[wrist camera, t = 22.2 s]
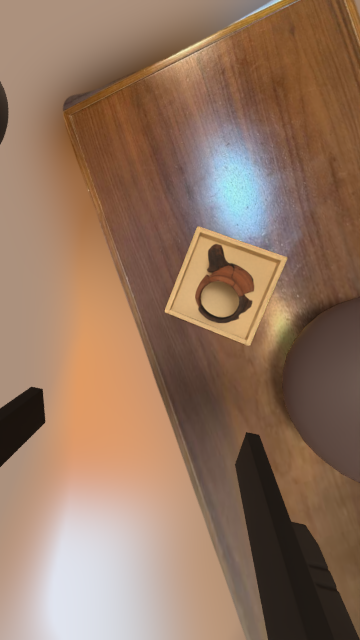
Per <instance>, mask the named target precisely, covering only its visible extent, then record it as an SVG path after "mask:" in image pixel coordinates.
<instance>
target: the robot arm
mask: <svg viewBox="0 0 360 640" xmlns="http://www.w3.org/2000/svg"><path fill="white" fill-rule="evenodd" d="M44 423H45V413H44V401H43V389H40V388H35V387H30V388H29V389H28V390H26V391H25V392H23V393H22V394H20V395H19V396H18V397H16V398H15V399H13V400H12V401H10V402H9V403H7V404H6V405H5V406H3V407H2V408H0V467H1V466H2V465H3V464H4V463H5V462H6V461H7V460H8V459H9V458H10V457H11V456H12V455H13V454H14V453H15V452H16V451H17V450H18V449H19V448H20V447H21V446H22V445H23V444H24V443H25V442H26V441H27V440H28V439H29V438H30V437H31V436H32V435H33V434H34V433H35V432H36V431H37V430H38V429H39V428H40V427H41V426H42V425H43V424H44ZM235 466H236V472H237V477H238V482H239V487H240V493H241V498H242V503H243V509H244V514H245V519H246V525H247V530H248V535H249V540H250V546H251V551H252V556H253V562H254V567H255V572H256V578H257V583H258V588H259V593H260V599H261V604H262V609H263V615H264V620H265V625H266V631H267V636H268V640H360V639H359V637H358V635H357V633H356V630H355V628H354V626H353V623H352V621H351V619H350V617H349V614H348V612H347V610H346V607H345V605H344V603H343V601H342V598H341V596H340V594H339V592H338V591H337V589H336V584H335V582H334V580H333V578H332V575H331V573H330V571H329V570H328V566H327V564H326V562H325V559H324V557H323V555H322V552H321V550H320V548H319V545H318V544H317V542H316V541H315V539H314V538H313V536H312V535H311V533H310V532H309V530H308V529H307V527H306V526H305V525H303V524H299V523H295V522H291V520H290V518H289V515H288V512H287V509H286V507H285V504H284V501H283V499H282V496H281V493H280V490H279V488H278V485H277V482H276V480H275V477H274V474H273V471H272V469H271V466H270V463H269V461H268V458H267V455H266V452H265V450H264V447H263V444H262V442H261V439H260V436H259V435H257V434H252V433H247V432H246V435H245V438H244V441H243V443H242V446H241V449H240V452H239V455H238V458H237V461H236V464H235Z"/></svg>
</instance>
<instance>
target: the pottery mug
mask: <svg viewBox="0 0 360 640" xmlns="http://www.w3.org/2000/svg"><path fill="white" fill-rule="evenodd" d="M208 260H209V268H208V269H207V271H208V272H210V273H212V274H211V275H210V276H209V275H205V277H204V278H203V279H202V281H201V282H200V284H199V286H198V288H197V290H196V294H195V299H196V302H197V305H198V306H199V308H198V310H199V312H200V313H201V314H202V315H203V316H204V317H205V318H206V319H208V320H210V321H213V322H216V323H228V322H231V321H234V320H237V319H239V315H240V314H242V313H244V312H246V311H247V309H249V308H250V307H251V305H252V300H249V299H248V298H247V297H246V296H245V295H244V294H246V293H249V292H253V291H254V282H253V278H252V276H251V275H250V274H249V273H248V272H247V271H246V270H244V269H243V268H241V267H240V266H238V265H236V264H233V263H228V262H227V261H226V259H225V256H224V251H223V248H222V245H219V244H214V245H212V246H211V248H210V249H209V250H208ZM211 282H224V283H226V284H228V285H230V286H231V287H232V288H233V289H234V290H235V291H236V293H237V295H238V297H239V305H238V308H237V310H236V311H235V312H234V313H233V314H232V315H230V316H227V317H217V316H214V315H212V314H210V313H209V312H208V311H207V310H206V309H205V308H204V307H203V305H202V303H201V299H200V298H201V293H202V291H203V289H204V288H205V286H207V285H208V284H210V283H211Z"/></svg>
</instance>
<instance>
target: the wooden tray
mask: <svg viewBox="0 0 360 640" xmlns="http://www.w3.org/2000/svg"><path fill="white" fill-rule="evenodd" d="M214 244H219V245H222V248H223V251H224V256H225V259H226V261H227V262H228V263H233V264H236V265H238V266H240V267H241V268H243V269H244V270H246V271H247V272H248V273H249V274H250V275H251V276H252V278H253V282H254V291H253V292H249V293H246V294H244V295H245V296H246V297H247V298H248V299H249V300H252V305H251V307H250V308H249V309H247V311H246V312H244V313H242V314H240V315H239V319H237V320H234V321H231V322H228V323H216V322H213V321H210V320H208V319H206V318H205V317H204V316H203V315H202V314H201V313H200V312H199V310H198V308H199V306H198V305H197V302H196V299H195V294H196V290H197V288H198V286H199V284H200V282H201V281H202V279H203V278H204V277H205V275H209V276H210V275H211V274H212V273H210V272H208V271H207V269H208V268H209V260H208V250H209V249H210V248H211V246H212V245H214ZM286 260H287V257H284V256H281V255H278V254H276V253H273V252H270V251H267V250H264V249H261V248H258V247H256V246H253V245H250V244H247V243H244V242H241V241H239V240H236V239H233V238H230V237H227V236H224V235H221V234H219V233H216V232H213V231H210V230H207V229H204V228H201V227H197V229H196V232H195V234H194V237H193V239H192V242H191V244H190V247H189V250H188V252H187V255H186V257H185V260H184V262H183V265H182V268H181V270H180V273H179V275H178V278H177V280H176V283H175V285H174V288H173V291H172V293H171V296H170V298H169V301H168V303H167V306H166V309H165V311H164V312H166V313H169V314H171V315H173V316H176V317H178V318H180V319H183V320H185V321H188V322H190V323H193V324H195V325H198V326H200V327H203V328H205V329H208V330H210V331H213V332H215V333H218V334H220V335H223V336H225V337H228V338H230V339H233V340H235V341H238V342H240V343H243V344H245V345H248V346H250V345H251V342H252V340H253V337H254V335H255V333H256V330H257V328H258V326H259V323H260V321H261V319H262V316H263V314H264V312H265V309H266V307H267V305H268V302H269V300H270V298H271V295H272V293H273V291H274V288H275V286H276V284H277V281H278V279H279V277H280V274H281V272H282V270H283V267H284V265H285V263H286ZM200 299H201V303H202V305H203V307H204V308H205V309H206V310H207V311H208V312H209V313H210V314H212V315H214V316H217V317H227V316H230V315H232V314H233V313H234V312H235V311H236V310H237V308H238V305H239V297H238V295H237V293H236V291H235V290H234V289H233V288H232V287H231V286H230V285H228V284H226V283H224V282H211V283H210V284H208V285H207V286H205V288H204V289H203V291H202V293H201V298H200Z"/></svg>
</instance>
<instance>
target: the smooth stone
mask: <svg viewBox="0 0 360 640" xmlns="http://www.w3.org/2000/svg"><path fill="white" fill-rule="evenodd" d="M282 389H283V396H284V402H285V405H286V408H287V411H288V413H289V416H290V419H291V420H292V422H293V424H294V426H295V427H296V429H297V430H298V432H299V434H300V435H301V437H302V438H303V440H304V441H305V442H306V444H307V445H308V446H309V447H310V448H311V449H312V450H313V451H314V452H315V453H316V454H317V455H318V456H319V457H320V458H321V459H323V460H324V461H325V462H326V463H328V464H329V465H330V466H332V467H333V468H334V469H336V470H337V471H339V472H340V473H341V474H343V475H345V476H347V477H349V478H351V479H353V480H355V481H357V482H359V483H360V297H358V298H355V299H352V300H349V301H346V302H343V303H340V304H338V305H335V306H333V307H331V308H330V309H328V310H326V311H325V312H323V313H321V314H319V315H318V316H317V317H316V318H315V319H313V320H312V321H311V322H310V323H309V324H308V325H306V326H305V328H304V329H303V330H302V331H301V333H300V334H299V335H298V337H297V338H296V339H295V340H294V342H293V344H292V346H291V348H290V350H289V352H288V354H287V357H286V361H285V365H284V368H283V381H282Z"/></svg>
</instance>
